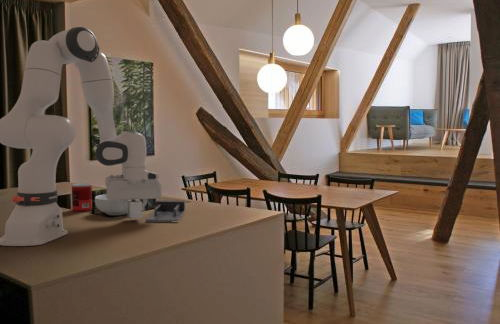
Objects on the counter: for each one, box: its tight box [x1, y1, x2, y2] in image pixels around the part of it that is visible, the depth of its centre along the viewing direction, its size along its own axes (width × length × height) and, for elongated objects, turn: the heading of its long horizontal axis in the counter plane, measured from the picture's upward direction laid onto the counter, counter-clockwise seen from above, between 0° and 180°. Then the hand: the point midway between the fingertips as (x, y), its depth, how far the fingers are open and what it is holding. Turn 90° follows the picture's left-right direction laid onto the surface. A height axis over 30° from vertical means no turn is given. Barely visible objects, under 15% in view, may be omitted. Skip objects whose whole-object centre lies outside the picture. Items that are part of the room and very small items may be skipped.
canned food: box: [71, 182, 93, 213], centre depth 195 cm, size 8×8×11 cm
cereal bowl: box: [94, 193, 127, 216], centre depth 189 cm, size 17×17×7 cm
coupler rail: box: [145, 199, 186, 223], centre depth 185 cm, size 22×12×4 cm, turn 1°
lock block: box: [126, 199, 143, 219], centre depth 175 cm, size 7×4×7 cm, turn 24°
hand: (134, 211), depth 175 cm, fingers closed on lock block, 4 cm apart
